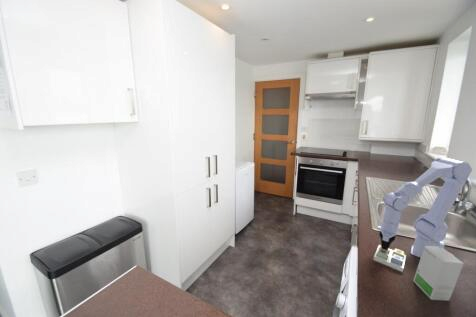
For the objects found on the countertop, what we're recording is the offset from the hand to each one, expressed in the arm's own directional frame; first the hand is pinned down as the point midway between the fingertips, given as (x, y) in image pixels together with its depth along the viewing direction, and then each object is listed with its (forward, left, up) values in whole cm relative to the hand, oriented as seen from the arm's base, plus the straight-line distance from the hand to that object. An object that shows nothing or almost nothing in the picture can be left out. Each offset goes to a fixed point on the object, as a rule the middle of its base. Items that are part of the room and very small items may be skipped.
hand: (384, 248), depth 93 cm
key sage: (0, +5, -1) cm, 5 cm away
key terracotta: (0, 0, -2) cm, 2 cm away
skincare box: (-16, +11, -3) cm, 20 cm away
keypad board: (-3, +2, -3) cm, 5 cm away
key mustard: (-5, 0, -1) cm, 5 cm away
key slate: (-5, +5, -1) cm, 7 cm away
